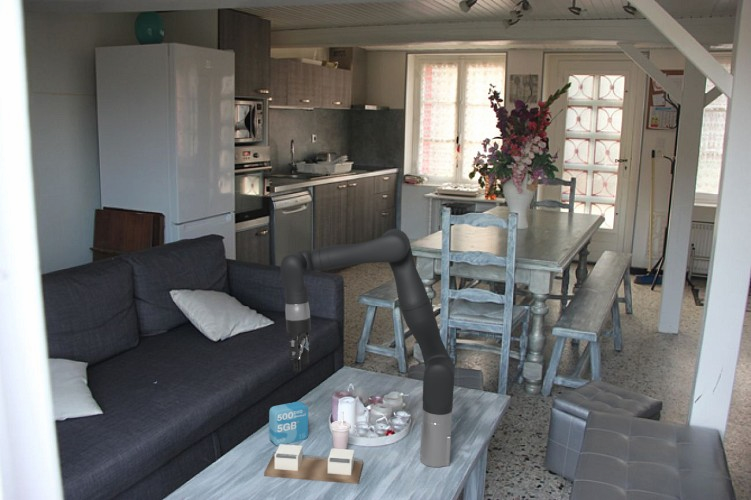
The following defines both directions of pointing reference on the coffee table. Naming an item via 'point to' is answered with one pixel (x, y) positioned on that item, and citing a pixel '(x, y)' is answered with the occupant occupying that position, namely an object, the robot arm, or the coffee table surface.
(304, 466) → the rail board
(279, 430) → the data package
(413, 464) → the coffee table surface
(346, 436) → the smoothie
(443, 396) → the robot arm
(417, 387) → the coffee table surface
